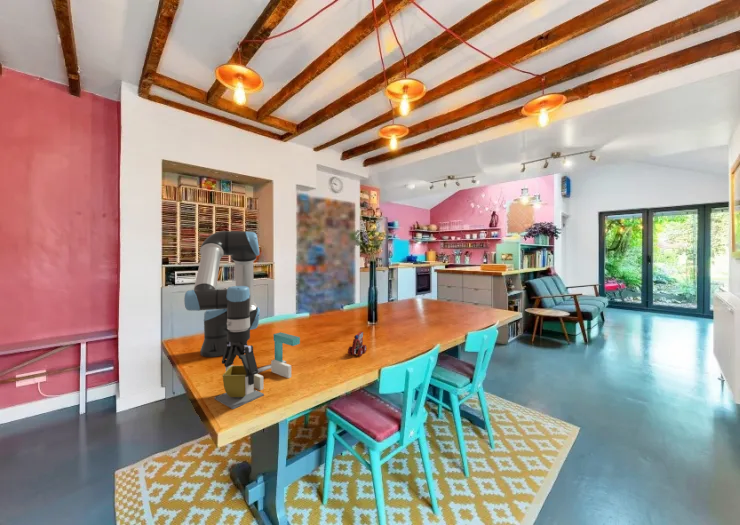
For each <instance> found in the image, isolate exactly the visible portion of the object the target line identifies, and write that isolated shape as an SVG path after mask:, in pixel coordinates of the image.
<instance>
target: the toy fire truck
mask: <svg viewBox="0 0 740 525" xmlns="http://www.w3.org/2000/svg"><path fill="white" fill-rule="evenodd" d="M363 337H364V332H363V331H359V332H358V333H357V334H355V335H354V337H353V338H354V339H353V341H352V345H351V346H349V347H348V349H347V353H348V355H350V356H351V355H353V356H355V355H357V356H359V357H362V356H363V354H366V352H367V345H366V344H363V343H364V342H363V341H364V338H363Z"/></svg>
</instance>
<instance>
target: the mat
mask: <svg viewBox="0 0 740 525" xmlns="http://www.w3.org/2000/svg"><path fill="white" fill-rule="evenodd" d="M264 396H265V393H263V392H261V391H260V390H258V389H257V390H256V388H254V392H252V393H250V394H247V395H245V396H244V397H229V396H228V394H227V393H226V392H225V393H223V394H219V395H216V396H214V398H213V399H214V400H216V401H217V402H219V403H221V404H222V405H224V406H226V407H228V408H230V409H231V410H235V409H237V408H240V407H241V406H244V405H245V404H249V403H250V402H252V401H255V400H257V399H259V398H261V397H264Z"/></svg>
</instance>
